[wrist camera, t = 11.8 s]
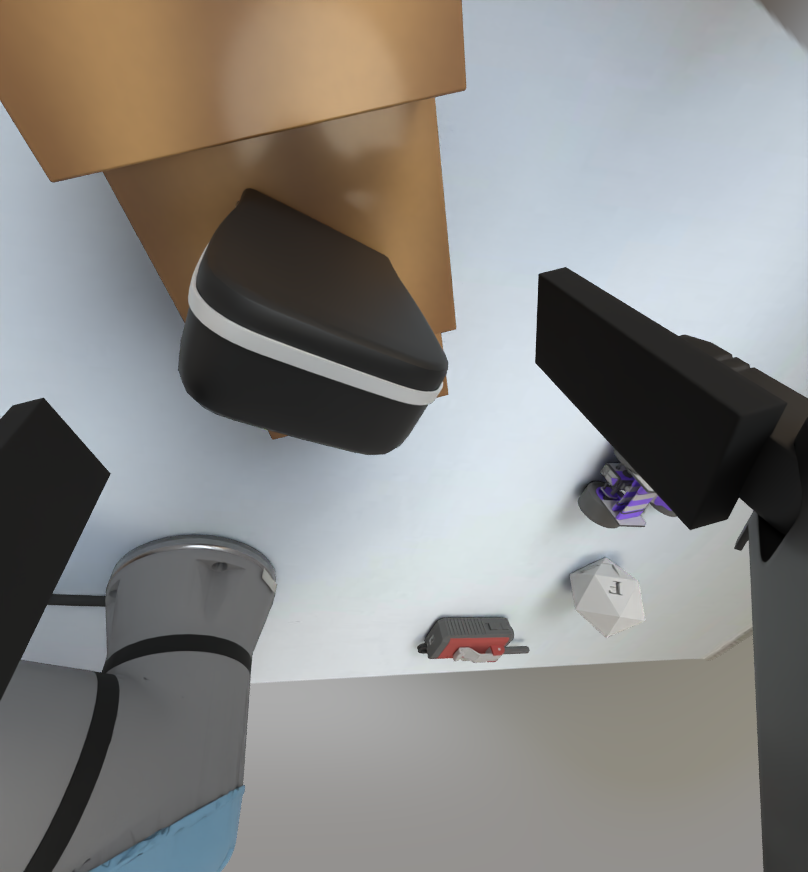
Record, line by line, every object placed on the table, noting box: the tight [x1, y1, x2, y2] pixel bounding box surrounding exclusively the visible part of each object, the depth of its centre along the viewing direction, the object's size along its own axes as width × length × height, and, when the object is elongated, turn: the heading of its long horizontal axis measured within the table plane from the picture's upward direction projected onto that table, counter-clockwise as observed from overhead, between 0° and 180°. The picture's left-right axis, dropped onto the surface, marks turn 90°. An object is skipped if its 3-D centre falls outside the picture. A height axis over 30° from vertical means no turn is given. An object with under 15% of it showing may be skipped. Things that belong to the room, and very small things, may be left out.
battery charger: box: [178, 188, 448, 455], centre depth 15 cm, size 7×4×11 cm, turn 62°
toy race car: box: [578, 448, 677, 528], centre depth 44 cm, size 10×15×6 cm, turn 74°
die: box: [570, 557, 646, 638], centre depth 55 cm, size 8×9×10 cm
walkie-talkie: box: [417, 618, 529, 663], centre depth 61 cm, size 9×4×20 cm
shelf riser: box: [0, 0, 466, 440], centre depth 21 cm, size 13×24×12 cm, turn 10°
